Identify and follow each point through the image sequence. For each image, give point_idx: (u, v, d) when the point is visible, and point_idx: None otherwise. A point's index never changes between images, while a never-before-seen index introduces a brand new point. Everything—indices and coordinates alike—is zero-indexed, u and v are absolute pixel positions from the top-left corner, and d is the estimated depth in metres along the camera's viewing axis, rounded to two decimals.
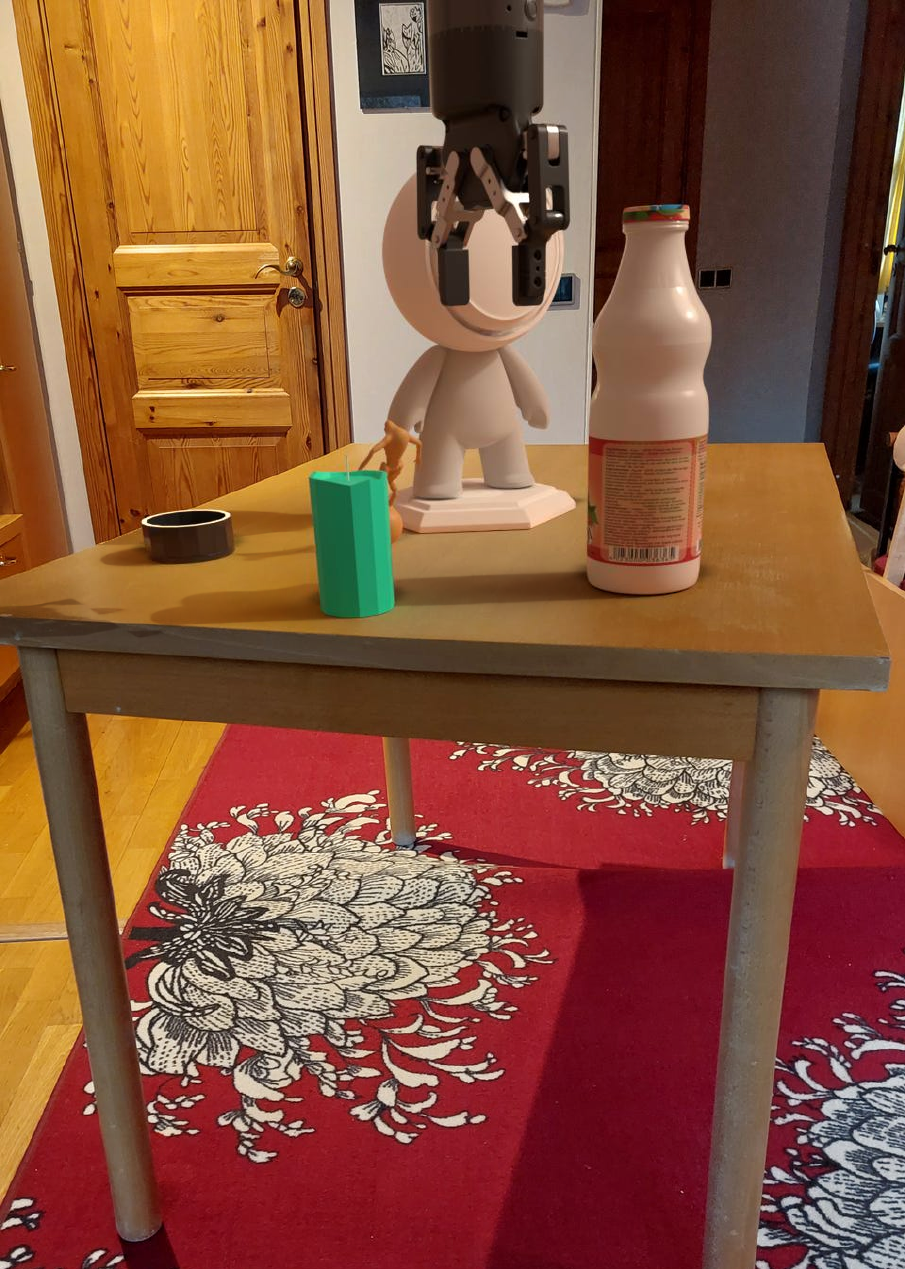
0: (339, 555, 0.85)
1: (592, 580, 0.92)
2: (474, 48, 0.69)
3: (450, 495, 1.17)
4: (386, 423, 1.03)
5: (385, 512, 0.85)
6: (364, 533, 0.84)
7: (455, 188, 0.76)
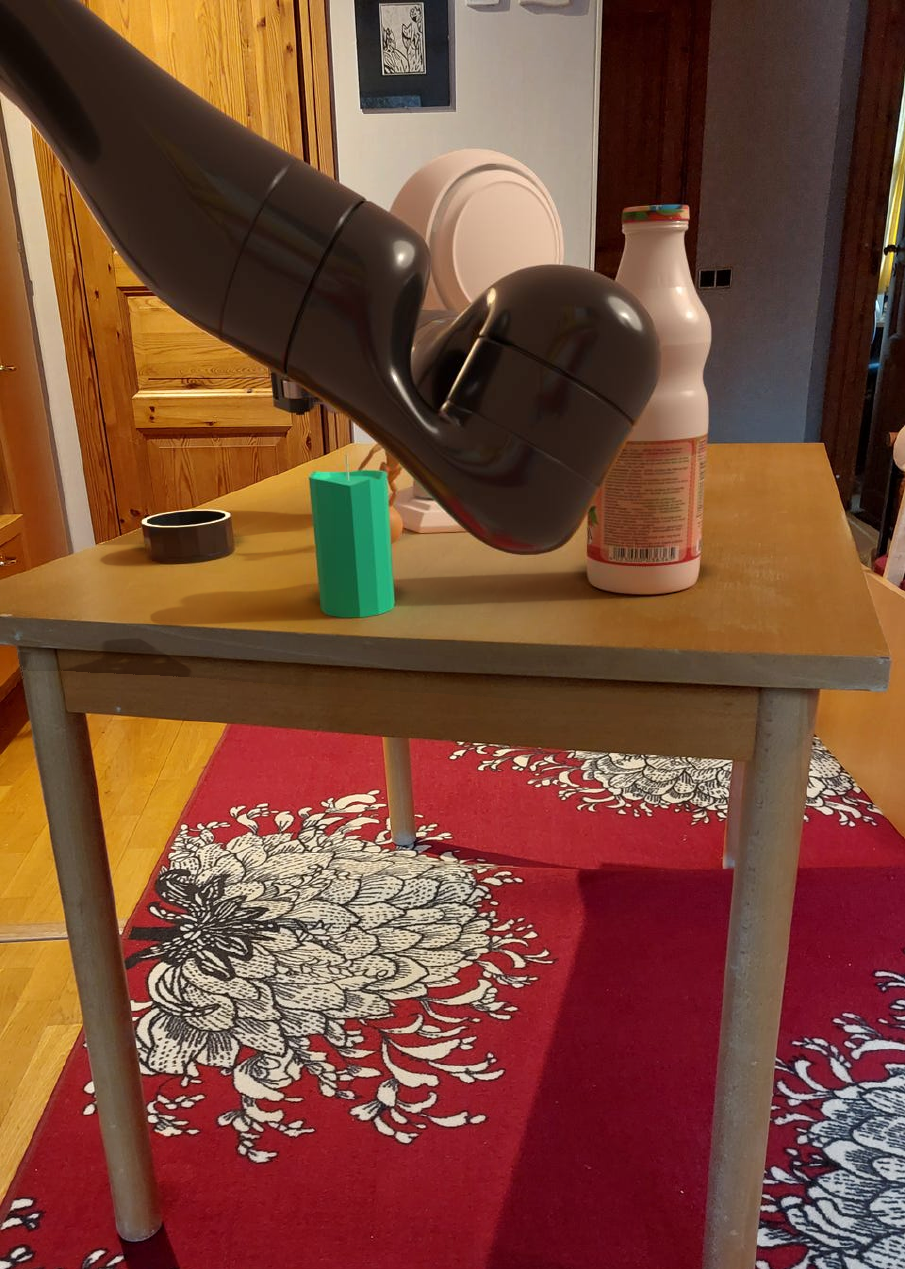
0: (339, 555, 0.85)
1: (592, 580, 0.92)
2: None
3: None
4: None
5: (385, 512, 0.85)
6: (364, 533, 0.84)
7: None
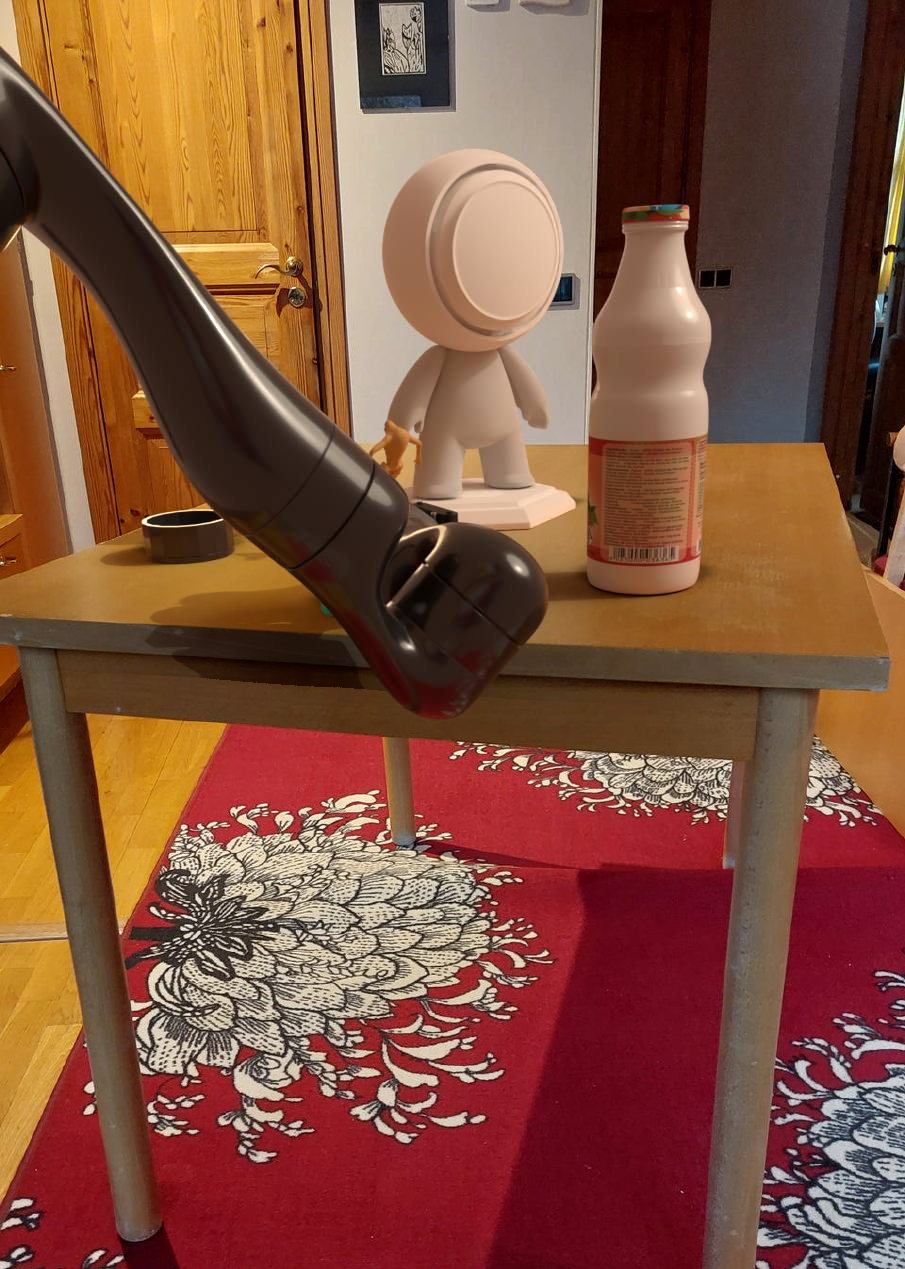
0: None
1: (592, 580, 0.92)
2: None
3: (450, 495, 1.17)
4: (386, 423, 1.03)
5: None
6: None
7: None
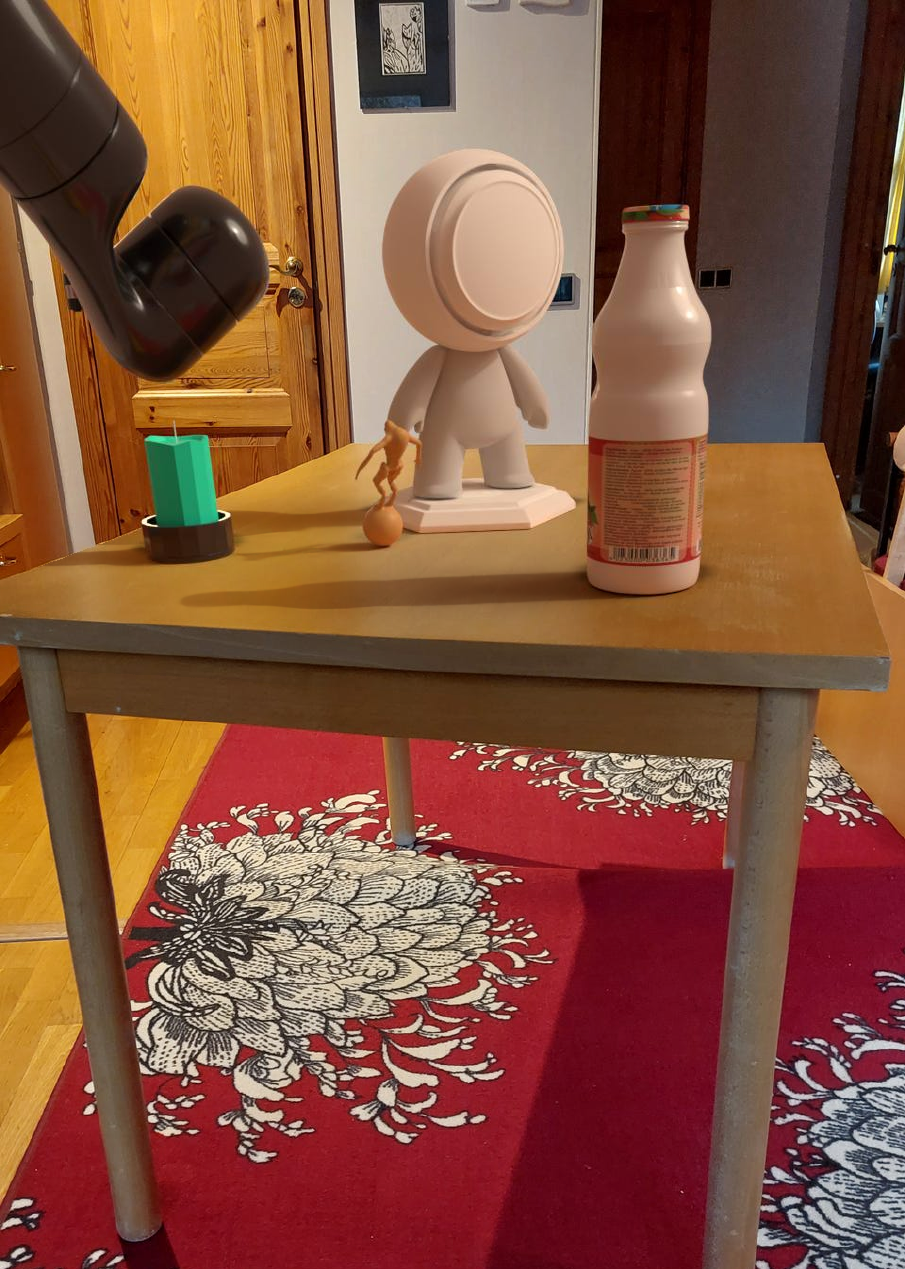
0: (168, 502, 1.05)
1: (592, 580, 0.92)
2: None
3: (450, 495, 1.17)
4: (386, 423, 1.03)
5: (206, 468, 1.05)
6: (187, 485, 1.04)
7: None
